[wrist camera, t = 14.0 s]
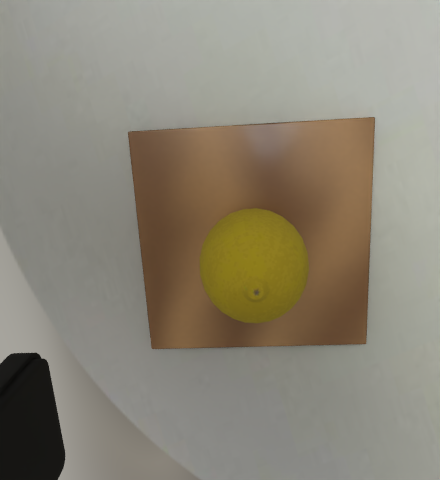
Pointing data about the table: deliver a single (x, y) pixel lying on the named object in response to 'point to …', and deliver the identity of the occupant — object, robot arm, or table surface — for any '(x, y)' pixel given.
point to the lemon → (254, 265)
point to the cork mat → (262, 197)
